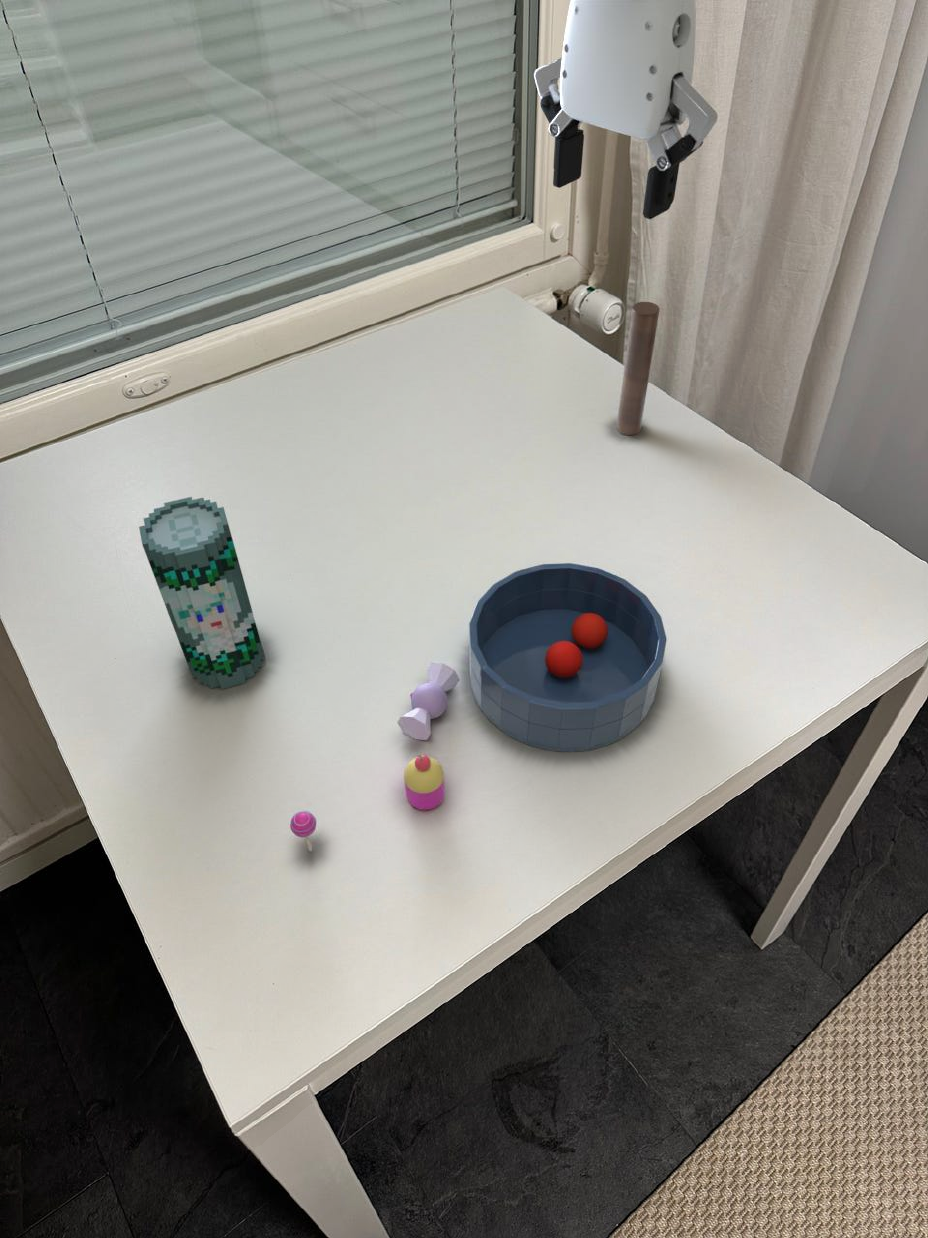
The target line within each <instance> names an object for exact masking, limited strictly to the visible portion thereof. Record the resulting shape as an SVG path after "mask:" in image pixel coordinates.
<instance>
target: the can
mask: <svg viewBox="0 0 928 1238" xmlns="http://www.w3.org/2000/svg"><path fill="white" fill-rule="evenodd" d="M143 524H144V525H140V526H138V528H139V529H138V530H139V534H140V540H141V546H142V548H143V550H144V553H145V556H146V559H147V560H148V564H149V566H150V568H151V571H152V575H153V576H154V579H155V582H156V585H157V587H158V589H159V592H160V595H161V598H162V601H163V603H164V606H165V608H166V611H167V614H168V616H169V619H170V622H171V624H172V627H173V630H174V633H175V636H176V638H177V640H178V642H179V646H180V648H181V651H182V652H183V656H184V659H185V662H186V664H187V667H188V670H189V672H190V675H191V678H192V679H197V681H198V684H199V685H202V684H203V685H204V687H207V686H209V687H210V689H215V688H218V687H220V689H221V690H225V689H228V688H232V687H236V686H239V685H242V684H247V681H246V680H247V679H250V678H255V673H258V672H259V668H262V667H263V663H262V660H265V659H266V655H265V652H264V648H263V645H262V641H261V637H260V634H259V629H258V626H257V622H256V620H255V616H254V613H253V608H252V605H251V601H250V598H249V593H248V591H247V587H246V584H245V579H244V575H243V572H242V569H241V565H240V561H239V557H238V554H237V550H236V547H235V543H234V540H233V536H232V533H231V529H230V525H229V521H228V517H227V515H226V510H225V508H224V506H222V507H218V503H217V501H211V500H210V499H207V500H205V498H204V497H199V498H195V499H193V497H192V496H189V497H185V498H180V499H176V500H171V501H168V502H164V503H163V506H161V507H156V508H153V512H149V513H148V517H143Z"/></svg>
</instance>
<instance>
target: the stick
mask: <svg viewBox="0 0 928 1238" xmlns="http://www.w3.org/2000/svg"><path fill="white" fill-rule="evenodd" d="M659 316H660V306H659V305H658V304H656V303H654V302H650V301H639V302H635V303H634V304H633V305H632V309H631V316H630V323H629V329H628V339H627V344H626V345H627V347H626V352H625V353H626V354H625V360H624V368H623V374H622V375H623V376H622V382H621V392H620V398H619V405H618V413H617V420H616V430H617V432H618V433H619V434H622V435H624V436H634V435H638V434H639V433H640V432H641V429H642V423H643V417H644V411H645V403H646V397H647V392H648V385H649V379H650V374H651V372H650V371H651V367H652V366H651V365H652V360H653V353H654V348H655V342H656V335H657V327H658V322H659Z"/></svg>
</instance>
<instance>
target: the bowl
mask: <svg viewBox="0 0 928 1238" xmlns="http://www.w3.org/2000/svg"><path fill="white" fill-rule="evenodd" d="M585 613H594V614H597V615H599V616H601V617H602V618H603V619H604V620H605V622H606V624H607V627H608V635H607V638H606V640H605V642H604V643H603V644H602V645H600V646H599V647H597V648H594V649H586V648H583V647H581V646H579V645H578V644H577V643H576V642H575V641H574V639H573V636H572V626H573V623H574V621H575V620H576V619H577V618H578V617H579V616H580V615H582V614H585ZM468 623H469V624H468V638H469V639H468V642H469V648H468V649H469V650H468V651H469V679H470V688H471V690H472V693H473V697H474V699H475V701H476V703H477V705H478V708H479V709H480V710H481V711H482V713H483V714H484V715H485V716H486V718H487V719H488V720H489V721H490V722H491V724H493V725H494V726H495V727H496V728H498V729H499V730H500V731H501V732H503V733H504V734H506V735H507V736H509V737H511V738H512V739H514V740H516V741H519V742H521V743H523V744H525V745H528V746H531V747H534V748H538V749H542V750H546V751H551V752H553V751H554V752H561V753H562V752H563V753H565V752H568V753H569V752H570V753H575V752H585V751H591V750H595V749H599V748H603V747H605V746H608V745H611V744H613V743H616V742H617V741H619V740H621V739H622V738H625V736H628V734H631V733H632V732H633V730H635V729H636V728H637V727H638V726H639V725H640V724H641V723H642V721H643V720H644V719H645V718H646V716H647V714H648V713H649V711H650V709H651V706H652V705H653V703H654V701H655V698H656V694H657V693H656V692H657V688H658V684H659V680H660V675H661V671H662V668H663V662H664V657H665V652H666V646H667V642H668V641H667V639H668V638H667V635H666V631H665V626H664V623H663V619H662V616H661V614H660V613H659V612H658V610H657V608H656V607H655V606H654V605H653V603H652V602H651V601H650V599H649V597H648V596H647V594H645V593H643V591H641V590H639V588H637V587H635V586H634V585H633V583H631V582H629V581H628V580H626V579H625V578H623V577H620V576H618V575H616V574H613V573H611V572H609V571H607V570H604V569H602V568H599V567H595V566H589V565H583V564H578V563H571V562H564V563H562V562H561V563H542V564H537V565H534V566H530V567H526V568H524V569H520V570H516V571H514V572H512V573H510V574H509V575H507V576H505V577H503V578H501V579H500V580H498V581H496V582H494V583H493V584H492V585H491V586H490V587H489V588H488V589H487V591H486V592H485V593H483V595H482V596H481V597H480V598H479V599H478V600H477V602H476V604H475V607H474V610H473V612H472V614H471V617H470V619H469V622H468ZM560 641H568V642H571V643H573V644H575V645H576V646H577V647H578V648H579V650H580V651H581V654H582V659H583V661H582V666H581V668H580V670H579V671H578V672H577V673H576V674H575V675H574V676H572V677H569V678H559V677H556V676H554V675H553V674H552V673H551V672H550V671H549V670H548V668H547V666H546V662H545V657H546V653H547V651H548V649H549V648H550V647H551V646H552V645H553V644H555V643H557V642H560Z"/></svg>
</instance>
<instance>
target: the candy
mask: <svg viewBox="0 0 928 1238" xmlns="http://www.w3.org/2000/svg"><path fill="white" fill-rule="evenodd" d="M460 680H461V679H460V677H459V675H458V673H457V672H456V670H455V669H453V668H451V666H448V665H446V664H445V663H441V662H440V663H439V662H432V663H431V664H430V665H429V667H428V668H427V682H425V683H424V682H423V683H422V684H420V685H418V686H417V687H416V688H415V689H414V690H413V692H411V694H410V695H409V696H410V704H411V708H412V710H410V711H408V712H406V713H405V714H403V715H401V716H400V718H399V719H398V720H397V725H398V727H399V729H400V730H401V731H402V732H403V733H404V734H405V735H407V736H409V737H411V738H412V739H414V740H420V741H421V740H423V741H427V740H428V738H430V736H431V734H432V729H431V720H433V719H435V718H439V717H440V716H441V715H442V714H443V713H444V712H445V710H446V708H447V706H448V697H447V696H448V695H447V694H446V692H448V691H449V690H452V689H454V688H455V687H456V686H457V685H458V683H459V682H460ZM444 773H445V772H444V769H443V768H442V764H440V762H439V761H438V760H437V759H435V758H434V757H431V756H428V755H426V754H421V753H417V756H416V757H415V758H413V759H411V761H409V763H408V764H407V765H406V766H405V769H404V773H403V781H404V790H405V798H406V799H407V802H408V803H409V804H410V805H411V806H412V807H414V808H415V809H418V810H424V811H425V810H431V809H434V808H436V807H437V806H439V805H440V804H441V803H442V801H443V800H444V797H445V794H446V793H445V779H444V777H445V774H444ZM289 823H290V824H289V828H290V830H291V833H293V834H294V835H295V836H296V837H299V838H304V839H305V842H306V846H307V849H308V852H313V849H314V848H313V845H312V842H311V838H310V836H311V835H312V834H314V832H315V831H316V828H317V819H316V817H315V816H314V814H313V813H312V812H310V811H308V810H301V811H298V812H295V814H294V815H292V817H291V818H290V822H289Z"/></svg>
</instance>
